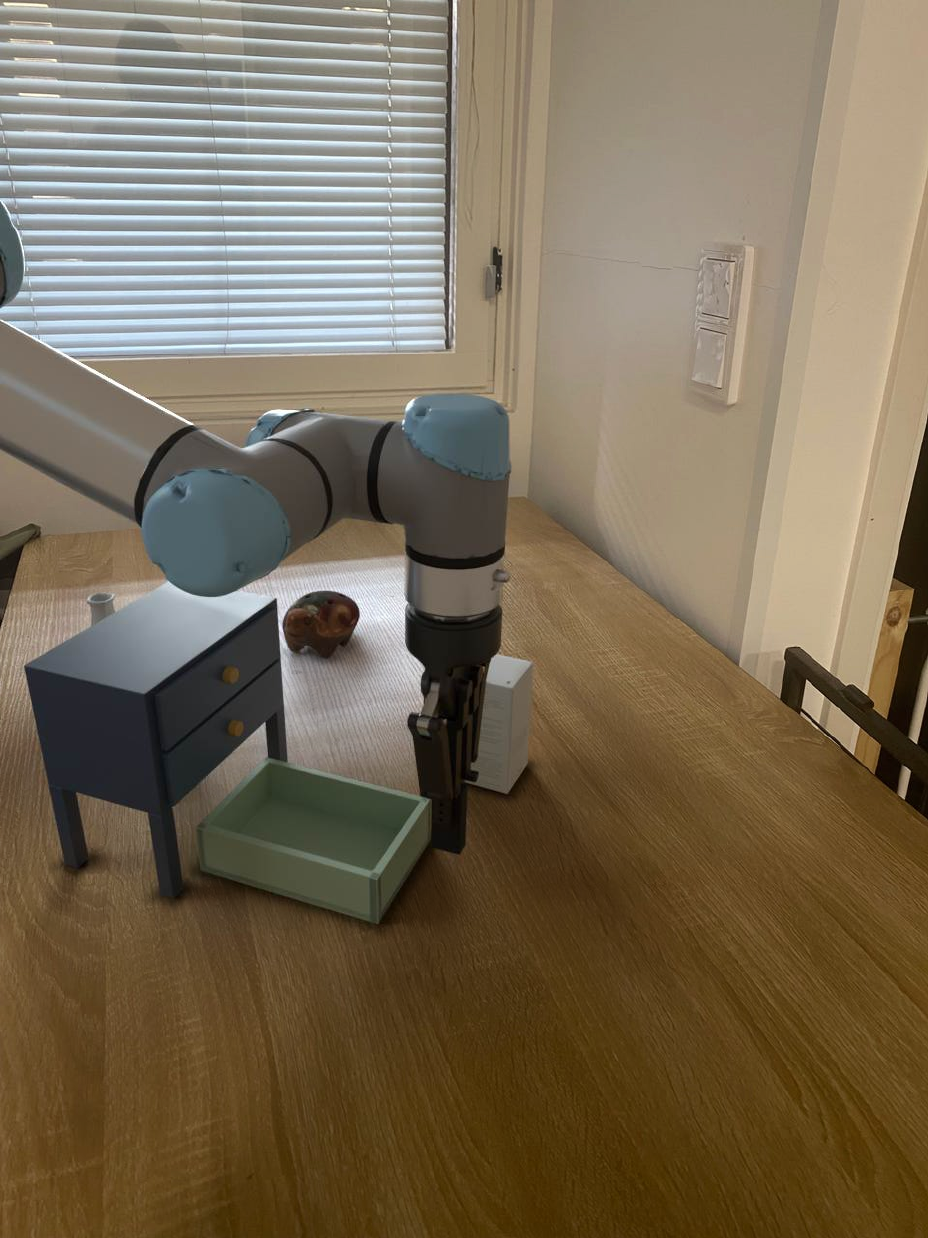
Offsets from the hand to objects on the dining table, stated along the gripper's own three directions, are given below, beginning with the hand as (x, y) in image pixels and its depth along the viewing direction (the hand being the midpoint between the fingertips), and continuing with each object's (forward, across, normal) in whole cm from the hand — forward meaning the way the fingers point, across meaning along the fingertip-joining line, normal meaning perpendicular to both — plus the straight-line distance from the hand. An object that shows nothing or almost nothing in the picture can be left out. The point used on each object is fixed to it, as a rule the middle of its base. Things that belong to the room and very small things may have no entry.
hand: (448, 845), depth 80 cm
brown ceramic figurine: (+5, +38, +33) cm, 51 cm away
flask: (+5, +22, +55) cm, 60 cm away
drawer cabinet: (+5, 0, +28) cm, 29 cm away
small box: (+5, +19, +3) cm, 20 cm away
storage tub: (+5, 0, +13) cm, 14 cm away
